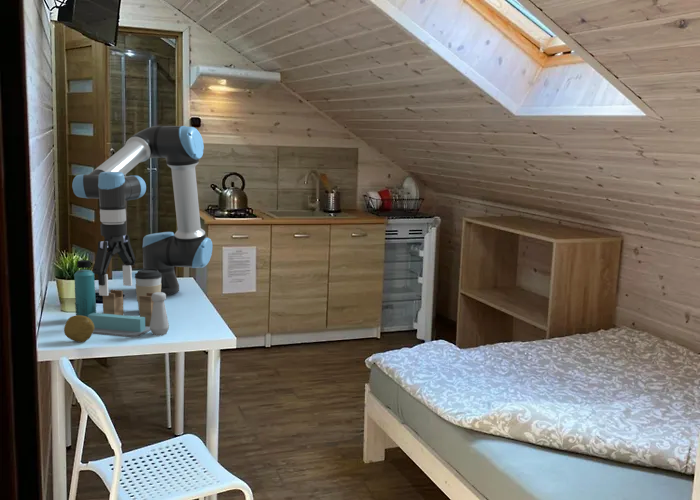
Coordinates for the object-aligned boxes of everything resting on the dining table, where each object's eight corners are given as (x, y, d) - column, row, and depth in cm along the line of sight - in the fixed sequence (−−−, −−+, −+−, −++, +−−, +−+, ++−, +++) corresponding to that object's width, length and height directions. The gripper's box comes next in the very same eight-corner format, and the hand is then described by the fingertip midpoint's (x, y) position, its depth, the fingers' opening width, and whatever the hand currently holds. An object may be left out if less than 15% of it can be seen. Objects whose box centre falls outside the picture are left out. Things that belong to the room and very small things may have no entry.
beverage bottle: (101, 319, 233) (99, 260, 230) (84, 323, 227) (82, 262, 224) (87, 316, 236) (85, 257, 233) (71, 320, 231) (68, 260, 228)
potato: (63, 340, 209) (61, 314, 208) (89, 336, 213) (88, 311, 212) (68, 346, 203) (67, 319, 202) (96, 342, 208) (95, 316, 206)
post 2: (148, 322, 231) (147, 292, 229) (159, 323, 230) (158, 293, 229) (140, 326, 226) (139, 296, 224) (151, 327, 225) (150, 296, 223)
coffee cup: (155, 316, 239) (154, 272, 237) (130, 314, 241) (129, 271, 238) (167, 309, 248) (166, 268, 245) (143, 308, 250) (142, 266, 247)
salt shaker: (146, 333, 218) (145, 292, 216) (162, 330, 222) (162, 289, 220) (155, 337, 214) (155, 295, 212) (172, 334, 218) (171, 293, 216)
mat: (97, 323, 228) (97, 322, 228) (153, 328, 223) (153, 327, 223) (78, 331, 218) (78, 330, 218) (137, 337, 214) (137, 335, 214)
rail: (93, 324, 224) (93, 312, 223) (145, 329, 220) (145, 317, 220) (88, 327, 221) (87, 314, 221) (140, 332, 217) (140, 319, 217)
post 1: (112, 319, 234) (111, 289, 232) (123, 320, 233) (122, 290, 231) (103, 323, 229) (102, 293, 227) (114, 324, 228) (113, 294, 226)
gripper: (123, 216, 228) (126, 280, 232) (78, 227, 204) (81, 298, 208) (145, 218, 226) (147, 282, 230) (101, 229, 203) (104, 300, 206)
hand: (116, 290), depth 219 cm, fingers open, 13 cm apart
